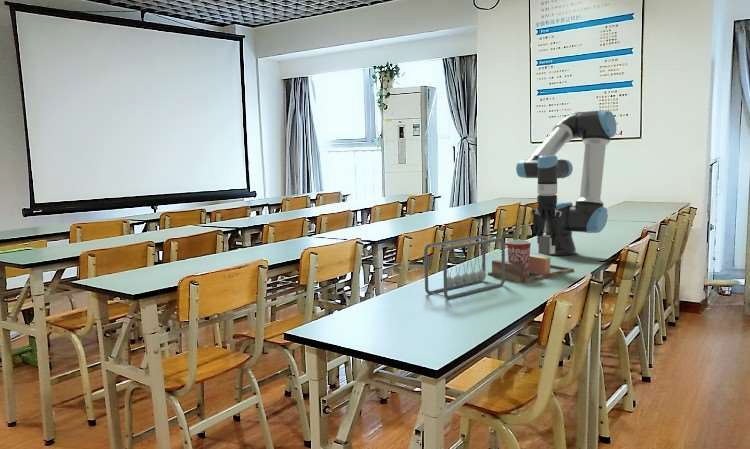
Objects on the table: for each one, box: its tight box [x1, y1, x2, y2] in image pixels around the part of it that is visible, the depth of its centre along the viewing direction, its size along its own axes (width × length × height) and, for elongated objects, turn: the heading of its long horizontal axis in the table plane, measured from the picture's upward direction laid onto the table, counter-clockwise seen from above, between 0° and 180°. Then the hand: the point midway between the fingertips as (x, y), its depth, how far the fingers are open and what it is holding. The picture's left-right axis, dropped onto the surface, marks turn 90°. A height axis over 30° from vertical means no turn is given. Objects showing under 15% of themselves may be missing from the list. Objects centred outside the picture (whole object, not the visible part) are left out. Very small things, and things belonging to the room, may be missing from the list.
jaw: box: [529, 253, 552, 276], centre depth 234 cm, size 3×14×7 cm, turn 35°
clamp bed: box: [487, 259, 575, 284], centre depth 233 cm, size 29×18×6 cm, turn 125°
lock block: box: [538, 234, 555, 256], centre depth 238 cm, size 4×4×7 cm
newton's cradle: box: [423, 235, 506, 300], centre depth 209 cm, size 30×10×18 cm, turn 127°
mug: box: [506, 239, 532, 279], centre depth 229 cm, size 13×9×14 cm
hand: (546, 252), depth 238 cm, fingers closed on lock block, 4 cm apart
